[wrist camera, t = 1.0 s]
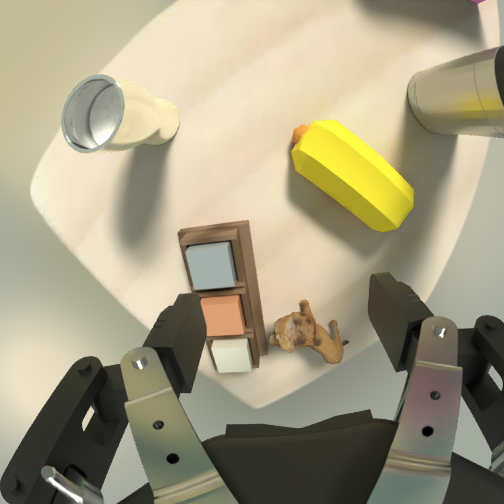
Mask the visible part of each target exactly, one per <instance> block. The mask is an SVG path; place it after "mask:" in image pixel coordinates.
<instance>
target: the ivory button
mask: <svg viewBox="0 0 504 504" xmlns="http://www.w3.org/2000/svg"><path fill="white" fill-rule="evenodd" d="M211 350H212V353H213V356H214V360H215V363H216V366H217V369H218V372H219V373H227V372H250V371H252V360H253V358H252V353H251V348H250V342H249V338H242V339H225V340H213V344H212V347H211Z"/></svg>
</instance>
